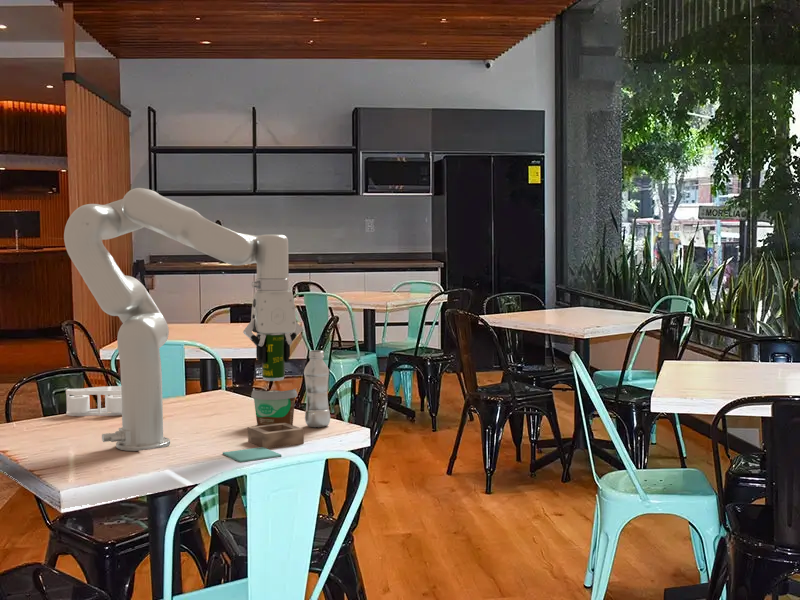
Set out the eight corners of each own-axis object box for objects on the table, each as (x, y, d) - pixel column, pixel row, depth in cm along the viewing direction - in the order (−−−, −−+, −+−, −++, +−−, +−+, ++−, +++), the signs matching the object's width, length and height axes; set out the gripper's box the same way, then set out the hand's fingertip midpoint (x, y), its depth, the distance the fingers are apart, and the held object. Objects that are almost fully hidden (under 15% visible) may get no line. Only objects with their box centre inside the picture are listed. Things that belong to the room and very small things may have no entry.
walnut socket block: (265, 448, 225) (265, 433, 225) (248, 441, 233) (247, 427, 233) (303, 443, 230) (303, 429, 230) (285, 436, 239) (285, 422, 238)
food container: (245, 430, 248) (244, 391, 247) (252, 425, 254) (252, 387, 253) (291, 431, 246) (291, 392, 245) (298, 426, 252) (297, 388, 251)
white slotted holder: (59, 418, 267) (58, 392, 267) (74, 411, 278) (73, 386, 278) (130, 418, 267) (130, 392, 266) (142, 411, 278) (142, 386, 277)
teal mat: (240, 462, 211) (240, 460, 211) (222, 454, 220) (222, 452, 220) (281, 456, 217) (281, 454, 217) (262, 448, 225) (262, 446, 225)
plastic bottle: (334, 427, 249) (333, 351, 248) (310, 430, 246) (309, 353, 245) (324, 423, 255) (323, 349, 254) (300, 426, 252) (299, 350, 250)
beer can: (272, 377, 235) (272, 328, 234) (289, 379, 232) (289, 329, 231) (257, 379, 230) (257, 330, 229) (274, 381, 227) (273, 331, 226)
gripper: (245, 287, 222) (246, 365, 223) (311, 285, 231) (312, 360, 232) (233, 286, 228) (233, 362, 229) (297, 284, 237) (298, 357, 238)
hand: (273, 360), depth 231 cm, fingers closed on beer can, 5 cm apart
